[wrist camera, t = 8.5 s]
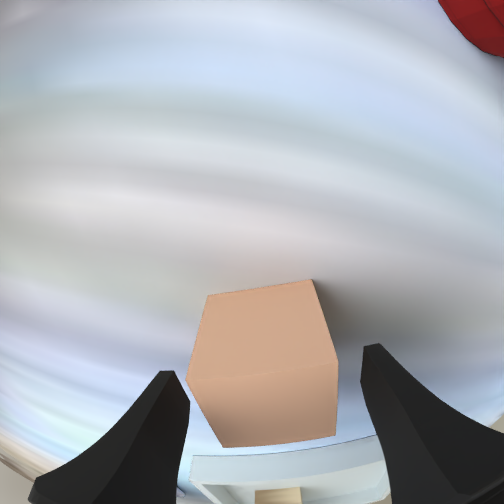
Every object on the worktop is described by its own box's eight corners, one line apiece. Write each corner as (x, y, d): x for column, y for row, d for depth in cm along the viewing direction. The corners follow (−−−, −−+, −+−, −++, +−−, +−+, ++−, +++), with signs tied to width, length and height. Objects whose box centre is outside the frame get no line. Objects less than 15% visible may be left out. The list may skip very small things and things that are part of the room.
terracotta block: (231, 366, 14) (223, 447, 10) (208, 294, 12) (185, 379, 8) (317, 354, 14) (335, 435, 9) (311, 278, 12) (338, 361, 7)
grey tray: (235, 503, 25) (235, 519, 22) (192, 455, 19) (188, 480, 16) (380, 483, 23) (384, 499, 21) (412, 423, 17) (421, 446, 15)
